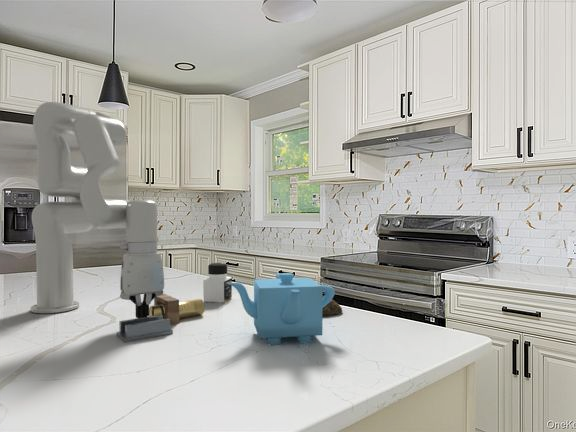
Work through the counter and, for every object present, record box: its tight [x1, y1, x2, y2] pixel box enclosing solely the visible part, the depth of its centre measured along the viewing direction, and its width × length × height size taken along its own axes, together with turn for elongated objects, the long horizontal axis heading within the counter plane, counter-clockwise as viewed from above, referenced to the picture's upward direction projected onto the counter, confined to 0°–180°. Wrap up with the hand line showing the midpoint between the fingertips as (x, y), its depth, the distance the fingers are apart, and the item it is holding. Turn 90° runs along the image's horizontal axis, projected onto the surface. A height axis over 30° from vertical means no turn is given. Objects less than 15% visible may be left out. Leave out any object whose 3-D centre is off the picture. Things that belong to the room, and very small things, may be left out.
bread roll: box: [322, 294, 343, 318], centre depth 124 cm, size 13×12×5 cm
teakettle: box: [227, 272, 336, 346], centre depth 99 cm, size 19×19×15 cm
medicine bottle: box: [203, 262, 233, 304], centre depth 139 cm, size 7×7×12 cm
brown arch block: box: [153, 293, 180, 326], centre depth 114 cm, size 10×3×6 cm, turn 37°
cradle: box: [116, 315, 174, 343], centre depth 101 cm, size 6×11×3 cm, turn 127°
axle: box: [148, 298, 205, 320], centre depth 116 cm, size 14×4×4 cm, turn 130°
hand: (142, 319), depth 111 cm, fingers closed
